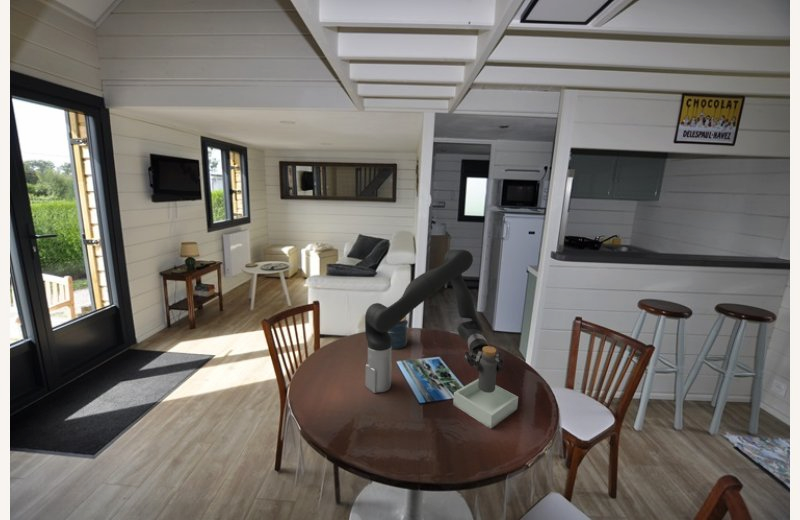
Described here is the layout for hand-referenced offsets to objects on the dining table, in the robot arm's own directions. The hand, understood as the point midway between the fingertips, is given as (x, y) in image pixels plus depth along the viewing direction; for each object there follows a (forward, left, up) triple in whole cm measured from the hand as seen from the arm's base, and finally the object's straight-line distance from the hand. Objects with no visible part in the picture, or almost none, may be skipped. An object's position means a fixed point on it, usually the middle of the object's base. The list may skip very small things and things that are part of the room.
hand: (490, 369), depth 113 cm
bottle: (+2, +2, -9) cm, 9 cm away
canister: (+7, +61, -16) cm, 63 cm away
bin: (+1, +2, -16) cm, 16 cm away
